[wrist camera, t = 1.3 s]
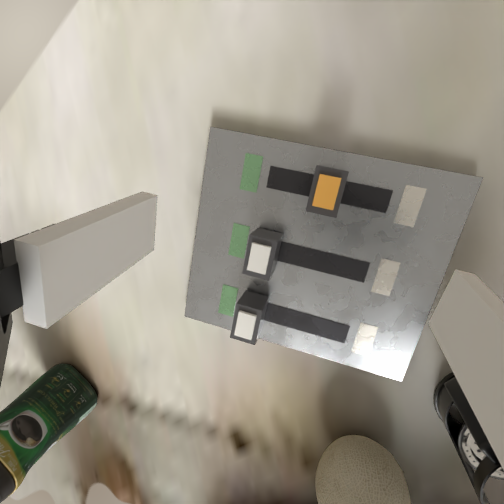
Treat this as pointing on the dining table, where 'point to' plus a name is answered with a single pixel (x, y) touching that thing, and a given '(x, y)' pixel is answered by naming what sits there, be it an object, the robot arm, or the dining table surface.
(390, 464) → the fruit
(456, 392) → the french press
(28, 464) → the coffee jar
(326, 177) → the orange and grey switch
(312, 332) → the panel
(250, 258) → the breaker middle
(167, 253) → the dining table surface
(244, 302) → the breaker back
